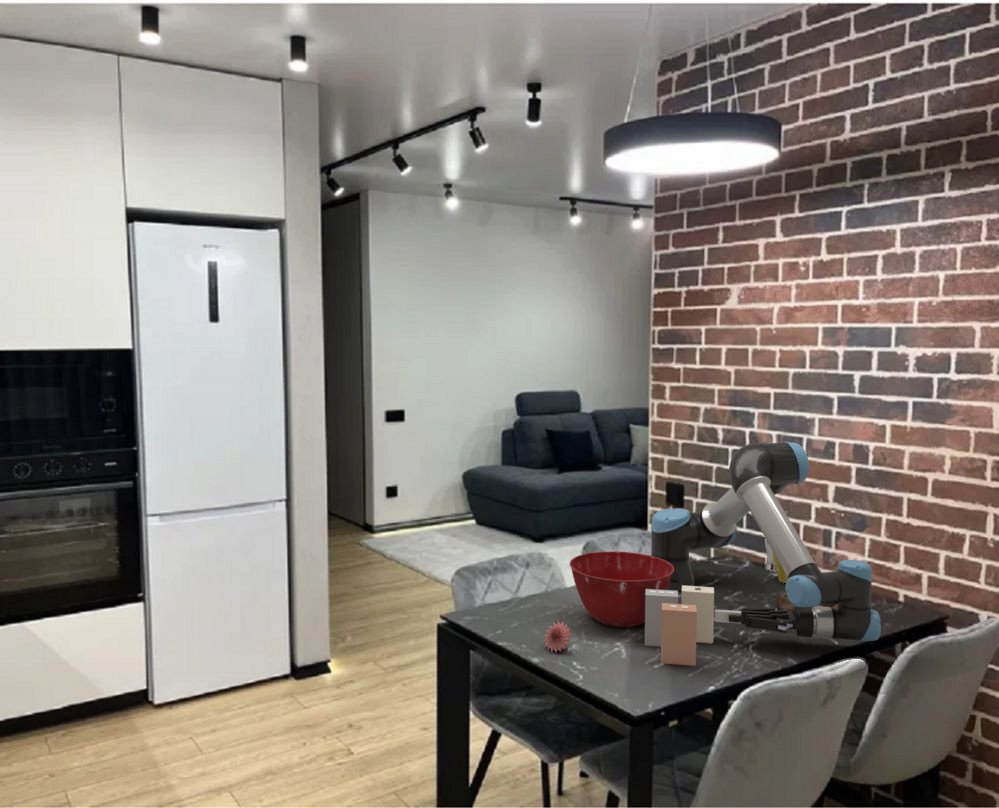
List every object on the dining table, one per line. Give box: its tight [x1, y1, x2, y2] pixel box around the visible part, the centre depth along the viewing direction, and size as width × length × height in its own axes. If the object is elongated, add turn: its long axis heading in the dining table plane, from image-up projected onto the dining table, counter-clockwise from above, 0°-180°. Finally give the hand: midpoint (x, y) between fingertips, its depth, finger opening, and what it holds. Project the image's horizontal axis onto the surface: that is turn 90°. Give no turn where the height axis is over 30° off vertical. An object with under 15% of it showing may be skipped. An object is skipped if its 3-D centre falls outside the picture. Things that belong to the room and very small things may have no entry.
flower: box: [543, 621, 572, 653], centre depth 200 cm, size 8×8×6 cm
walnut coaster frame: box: [776, 592, 838, 612], centre depth 234 cm, size 16×18×3 cm
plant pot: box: [773, 552, 789, 584], centre depth 257 cm, size 10×10×10 cm
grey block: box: [644, 589, 679, 648], centre depth 204 cm, size 8×5×13 cm, turn 79°
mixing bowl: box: [569, 550, 674, 628], centre depth 222 cm, size 28×28×16 cm
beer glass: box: [764, 537, 777, 573], centre depth 271 cm, size 7×7×15 cm
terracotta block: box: [660, 603, 697, 667], centre depth 193 cm, size 8×5×13 cm, turn 79°
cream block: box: [680, 585, 715, 644], centre depth 207 cm, size 8×5×13 cm, turn 76°
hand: (714, 615), depth 206 cm, fingers closed
